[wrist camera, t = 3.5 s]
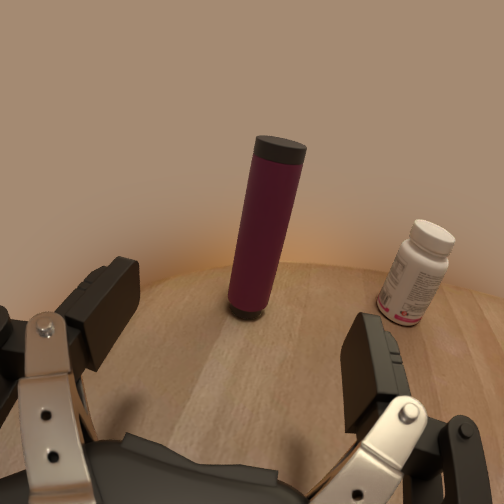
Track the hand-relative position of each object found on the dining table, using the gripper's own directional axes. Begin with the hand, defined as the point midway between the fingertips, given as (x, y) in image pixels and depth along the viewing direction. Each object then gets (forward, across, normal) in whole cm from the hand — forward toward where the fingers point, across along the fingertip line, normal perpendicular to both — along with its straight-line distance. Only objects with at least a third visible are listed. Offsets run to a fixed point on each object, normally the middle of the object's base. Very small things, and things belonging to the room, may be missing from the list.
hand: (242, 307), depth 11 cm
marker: (+10, 0, +8) cm, 13 cm away
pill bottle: (+14, -14, +8) cm, 21 cm away
